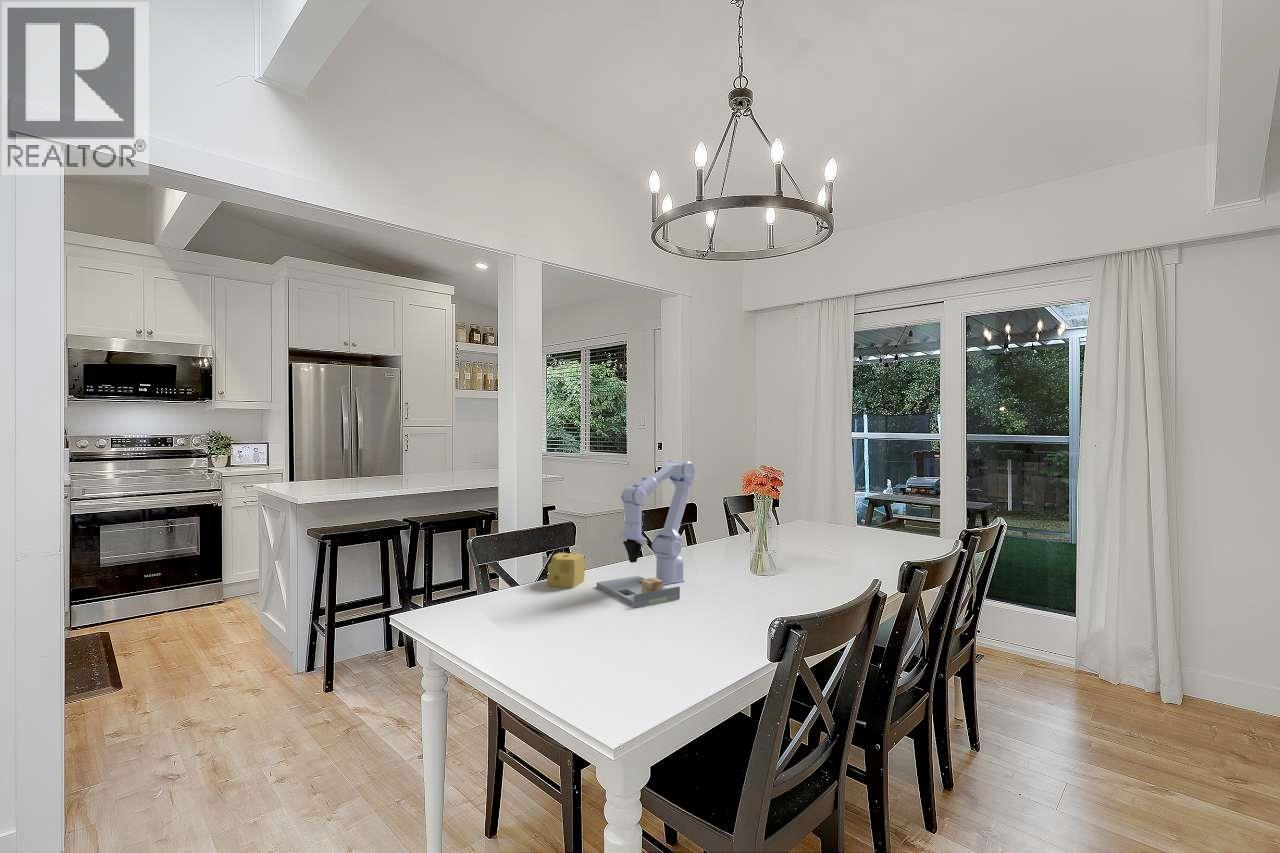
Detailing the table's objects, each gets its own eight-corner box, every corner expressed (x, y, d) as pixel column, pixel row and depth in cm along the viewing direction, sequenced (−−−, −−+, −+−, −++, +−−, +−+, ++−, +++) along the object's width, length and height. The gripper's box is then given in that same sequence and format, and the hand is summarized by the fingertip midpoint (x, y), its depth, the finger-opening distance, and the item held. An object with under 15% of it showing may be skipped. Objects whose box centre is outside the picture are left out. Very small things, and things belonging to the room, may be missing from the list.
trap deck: (638, 579, 214) (638, 569, 214) (679, 598, 192) (679, 586, 192) (596, 586, 205) (596, 575, 205) (635, 607, 183) (635, 594, 183)
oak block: (654, 592, 194) (654, 577, 194) (662, 596, 189) (662, 581, 189) (641, 594, 191) (641, 579, 191) (649, 599, 187) (649, 583, 187)
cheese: (546, 586, 206) (546, 557, 206) (559, 578, 216) (559, 551, 216) (574, 589, 203) (574, 560, 203) (586, 580, 213) (586, 553, 213)
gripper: (612, 520, 205) (612, 558, 205) (634, 526, 192) (634, 568, 192) (630, 518, 208) (629, 556, 209) (652, 524, 196) (652, 565, 196)
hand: (633, 561), depth 201 cm, fingers closed
